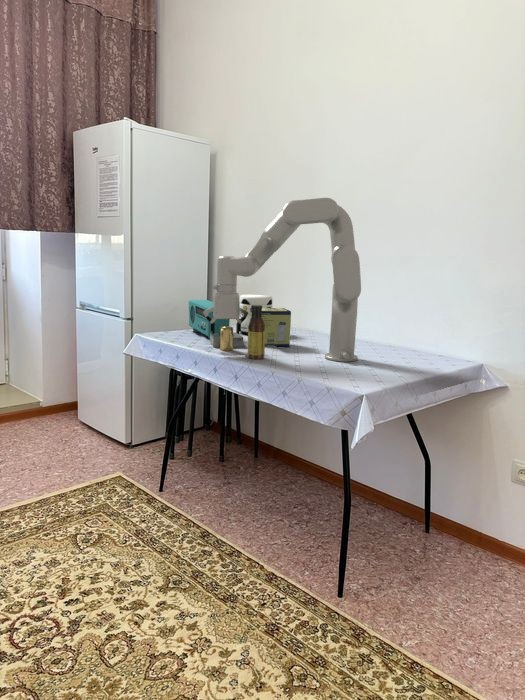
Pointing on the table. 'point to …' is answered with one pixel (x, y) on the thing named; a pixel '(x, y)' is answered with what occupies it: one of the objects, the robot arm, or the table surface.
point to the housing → (216, 340)
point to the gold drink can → (226, 338)
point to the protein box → (276, 326)
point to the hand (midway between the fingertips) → (225, 333)
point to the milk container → (246, 305)
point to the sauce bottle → (256, 334)
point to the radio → (203, 317)
